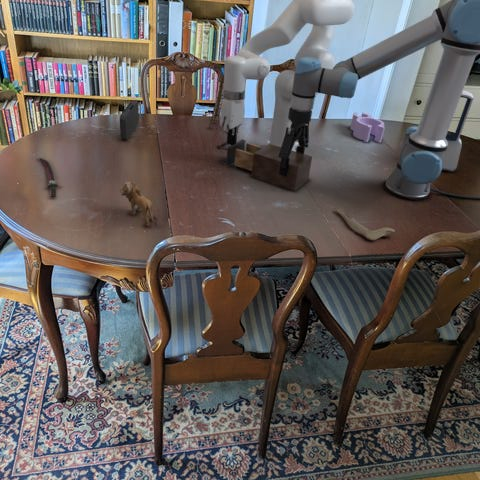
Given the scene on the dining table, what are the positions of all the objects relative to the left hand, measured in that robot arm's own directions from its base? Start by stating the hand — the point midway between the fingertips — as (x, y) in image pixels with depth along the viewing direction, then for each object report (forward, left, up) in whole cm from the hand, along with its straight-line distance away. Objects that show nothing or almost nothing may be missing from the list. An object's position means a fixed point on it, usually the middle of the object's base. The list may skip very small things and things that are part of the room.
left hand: (231, 143), depth 172 cm
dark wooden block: (-9, +20, -7) cm, 23 cm away
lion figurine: (+46, +25, -7) cm, 53 cm away
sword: (+64, -9, -7) cm, 65 cm away
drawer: (-3, +7, -6) cm, 9 cm away
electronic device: (-78, +36, -7) cm, 86 cm away
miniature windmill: (-15, -33, -7) cm, 37 cm away
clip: (-75, -4, -7) cm, 76 cm away
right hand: (-11, +23, -2) cm, 25 cm away
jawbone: (-14, +57, -7) cm, 59 cm away
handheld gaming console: (+24, -40, -7) cm, 47 cm away
